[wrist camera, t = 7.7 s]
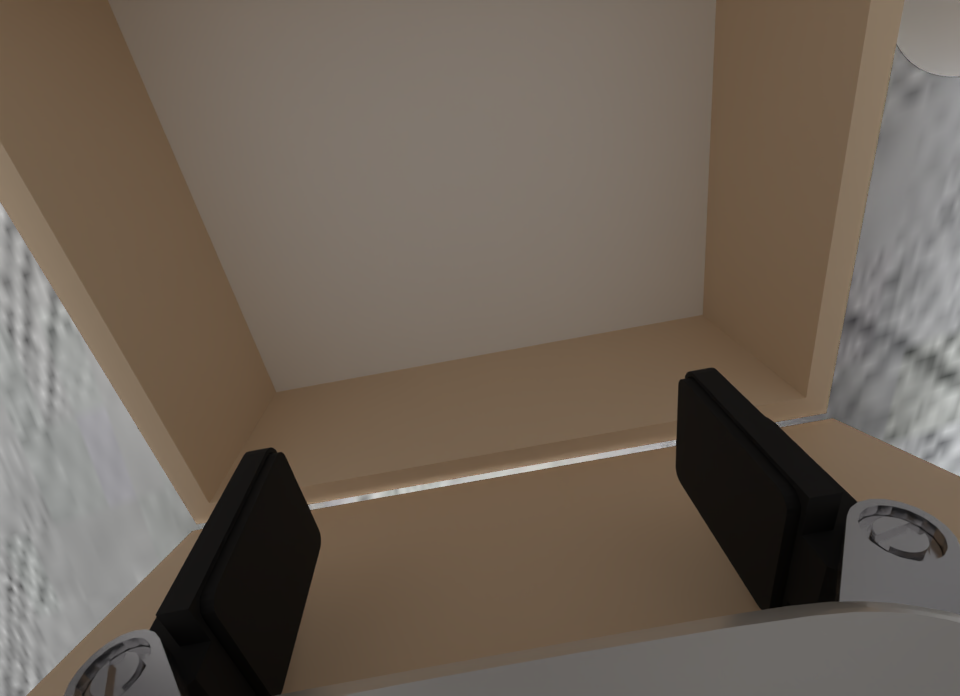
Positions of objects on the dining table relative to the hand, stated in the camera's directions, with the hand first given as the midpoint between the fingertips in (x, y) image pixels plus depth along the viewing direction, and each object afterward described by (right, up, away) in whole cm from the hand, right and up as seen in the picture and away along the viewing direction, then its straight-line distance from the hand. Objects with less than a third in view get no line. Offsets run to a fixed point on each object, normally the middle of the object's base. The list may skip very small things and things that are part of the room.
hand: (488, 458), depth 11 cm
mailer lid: (+1, -4, -4) cm, 6 cm away
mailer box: (-1, +10, +8) cm, 13 cm away
